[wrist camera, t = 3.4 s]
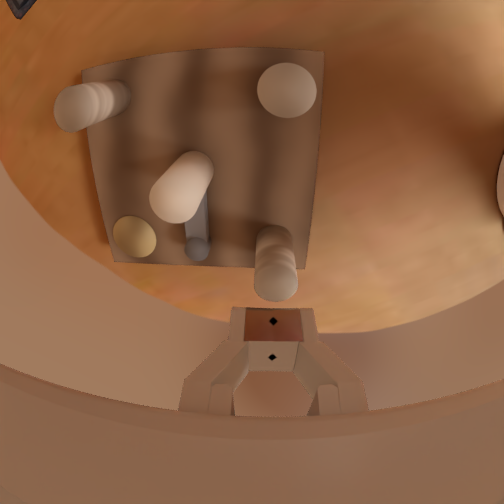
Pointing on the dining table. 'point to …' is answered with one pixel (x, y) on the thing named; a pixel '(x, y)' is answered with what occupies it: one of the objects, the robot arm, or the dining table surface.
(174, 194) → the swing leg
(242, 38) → the dining table surface
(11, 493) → the robot arm
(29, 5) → the wallet
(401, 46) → the dining table surface
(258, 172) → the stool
